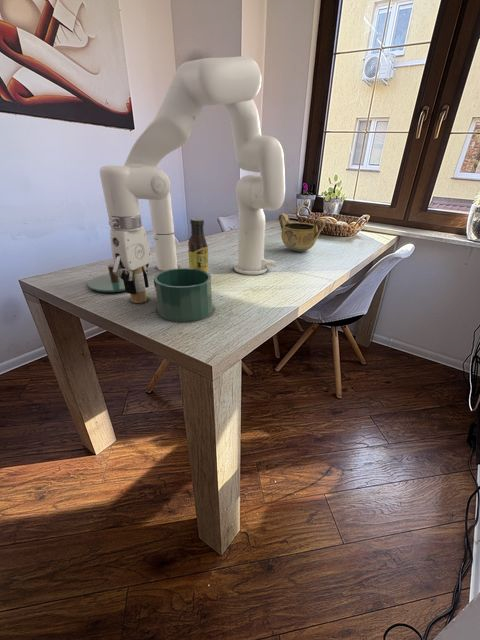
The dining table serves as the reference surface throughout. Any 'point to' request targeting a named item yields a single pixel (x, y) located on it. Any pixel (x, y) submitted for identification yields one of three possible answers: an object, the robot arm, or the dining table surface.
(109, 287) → the lid
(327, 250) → the dining table surface
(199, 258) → the sauce bottle
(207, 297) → the canister
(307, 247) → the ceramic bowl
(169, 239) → the cylindrical container
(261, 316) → the dining table surface
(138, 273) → the sprinkles bottle
